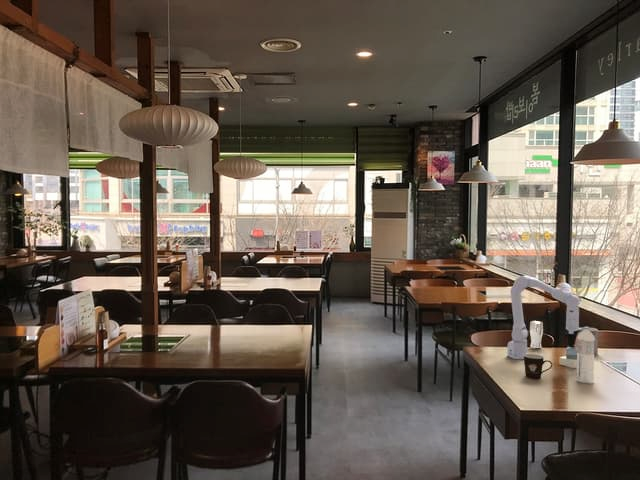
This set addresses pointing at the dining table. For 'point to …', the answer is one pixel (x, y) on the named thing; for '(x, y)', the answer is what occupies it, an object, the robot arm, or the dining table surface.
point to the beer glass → (536, 333)
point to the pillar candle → (595, 333)
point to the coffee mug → (534, 366)
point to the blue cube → (571, 353)
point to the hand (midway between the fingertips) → (571, 345)
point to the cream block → (568, 362)
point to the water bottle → (585, 357)
